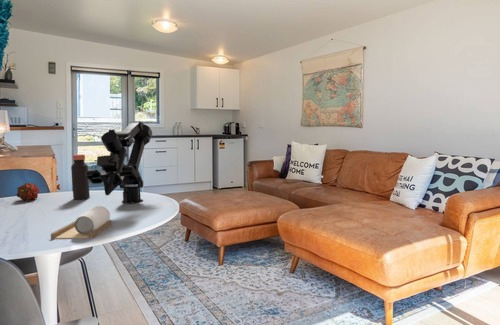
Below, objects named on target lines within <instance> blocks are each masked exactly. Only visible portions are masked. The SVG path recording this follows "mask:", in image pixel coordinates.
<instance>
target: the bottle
mask: <svg viewBox="0 0 500 325" xmlns="http://www.w3.org/2000/svg"><path fill="white" fill-rule="evenodd" d="M85 160H86V155H85V154H73V155H72V161H73V163H72V165H71V166H70V167H71V170H70V171H71V182H72V184H71V185H72V198H73V200H76V201H79V200H88V199H89V198H90V197H91V196H90V181H89V180H88V179H87V178H86V177H85V175H86V172H87V171H89V165H88V164H86V162H85Z"/></svg>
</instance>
